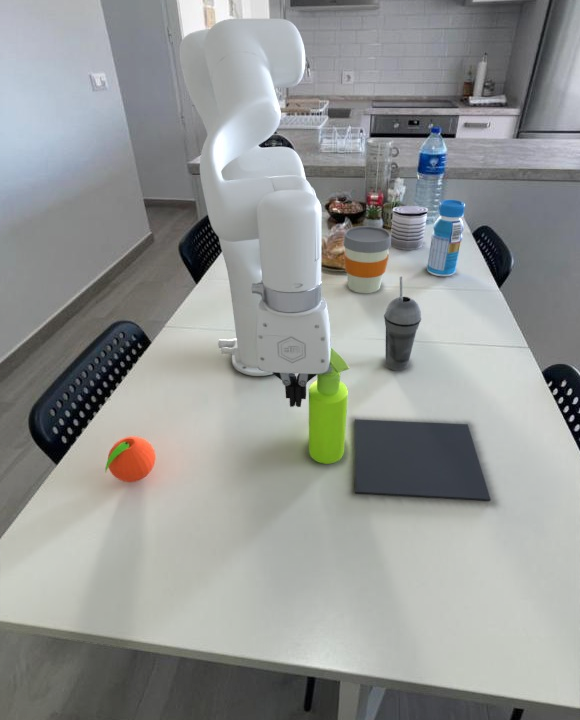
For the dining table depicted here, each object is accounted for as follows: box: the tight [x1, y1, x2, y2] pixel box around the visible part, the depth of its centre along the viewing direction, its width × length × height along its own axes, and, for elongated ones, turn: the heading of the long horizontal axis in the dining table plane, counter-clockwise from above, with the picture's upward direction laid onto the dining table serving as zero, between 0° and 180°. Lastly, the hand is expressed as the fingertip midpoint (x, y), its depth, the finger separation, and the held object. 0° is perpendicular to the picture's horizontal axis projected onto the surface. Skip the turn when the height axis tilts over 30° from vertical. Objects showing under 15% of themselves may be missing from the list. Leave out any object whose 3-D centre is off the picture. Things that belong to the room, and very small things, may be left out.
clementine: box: [105, 435, 156, 483], centre depth 69 cm, size 8×7×7 cm
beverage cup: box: [383, 276, 422, 371], centre depth 89 cm, size 7×7×20 cm
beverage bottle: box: [426, 199, 466, 277], centre depth 127 cm, size 8×8×20 cm
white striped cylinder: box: [390, 205, 429, 251], centre depth 147 cm, size 11×11×12 cm
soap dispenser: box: [308, 347, 350, 465], centre depth 69 cm, size 6×7×20 cm
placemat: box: [354, 418, 491, 502], centre depth 73 cm, size 20×16×1 cm
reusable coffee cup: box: [342, 225, 392, 294], centre depth 121 cm, size 12×13×15 cm
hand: (296, 400), depth 68 cm, fingers closed
